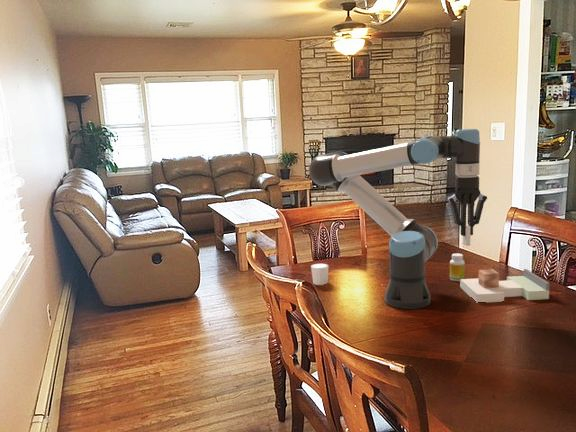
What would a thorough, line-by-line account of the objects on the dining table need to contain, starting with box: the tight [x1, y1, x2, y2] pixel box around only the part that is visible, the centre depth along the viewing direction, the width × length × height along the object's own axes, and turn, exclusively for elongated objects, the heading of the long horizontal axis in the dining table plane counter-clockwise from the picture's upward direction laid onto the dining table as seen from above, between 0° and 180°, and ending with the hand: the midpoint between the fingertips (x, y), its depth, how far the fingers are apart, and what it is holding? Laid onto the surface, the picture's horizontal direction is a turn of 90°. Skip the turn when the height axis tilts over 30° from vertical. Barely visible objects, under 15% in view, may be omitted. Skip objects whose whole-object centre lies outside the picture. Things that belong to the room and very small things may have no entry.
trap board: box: [459, 268, 550, 304], centre depth 174 cm, size 24×16×6 cm, turn 91°
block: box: [478, 268, 500, 288], centre depth 173 cm, size 5×5×5 cm
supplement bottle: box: [449, 252, 466, 282], centre depth 190 cm, size 5×5×10 cm
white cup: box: [310, 263, 329, 286], centre depth 195 cm, size 7×7×7 cm
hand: (466, 244), depth 171 cm, fingers closed
